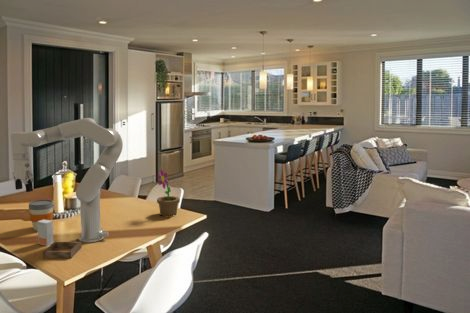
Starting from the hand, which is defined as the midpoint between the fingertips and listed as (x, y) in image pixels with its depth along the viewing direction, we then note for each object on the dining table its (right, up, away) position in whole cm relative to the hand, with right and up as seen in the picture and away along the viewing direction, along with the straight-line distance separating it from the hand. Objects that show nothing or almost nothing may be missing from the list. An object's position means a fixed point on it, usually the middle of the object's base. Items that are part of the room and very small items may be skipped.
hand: (24, 190), depth 195 cm
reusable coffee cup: (-3, -24, +24) cm, 34 cm away
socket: (+24, -29, -10) cm, 39 cm away
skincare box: (+11, -27, +1) cm, 29 cm away
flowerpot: (+63, -20, +54) cm, 86 cm away
